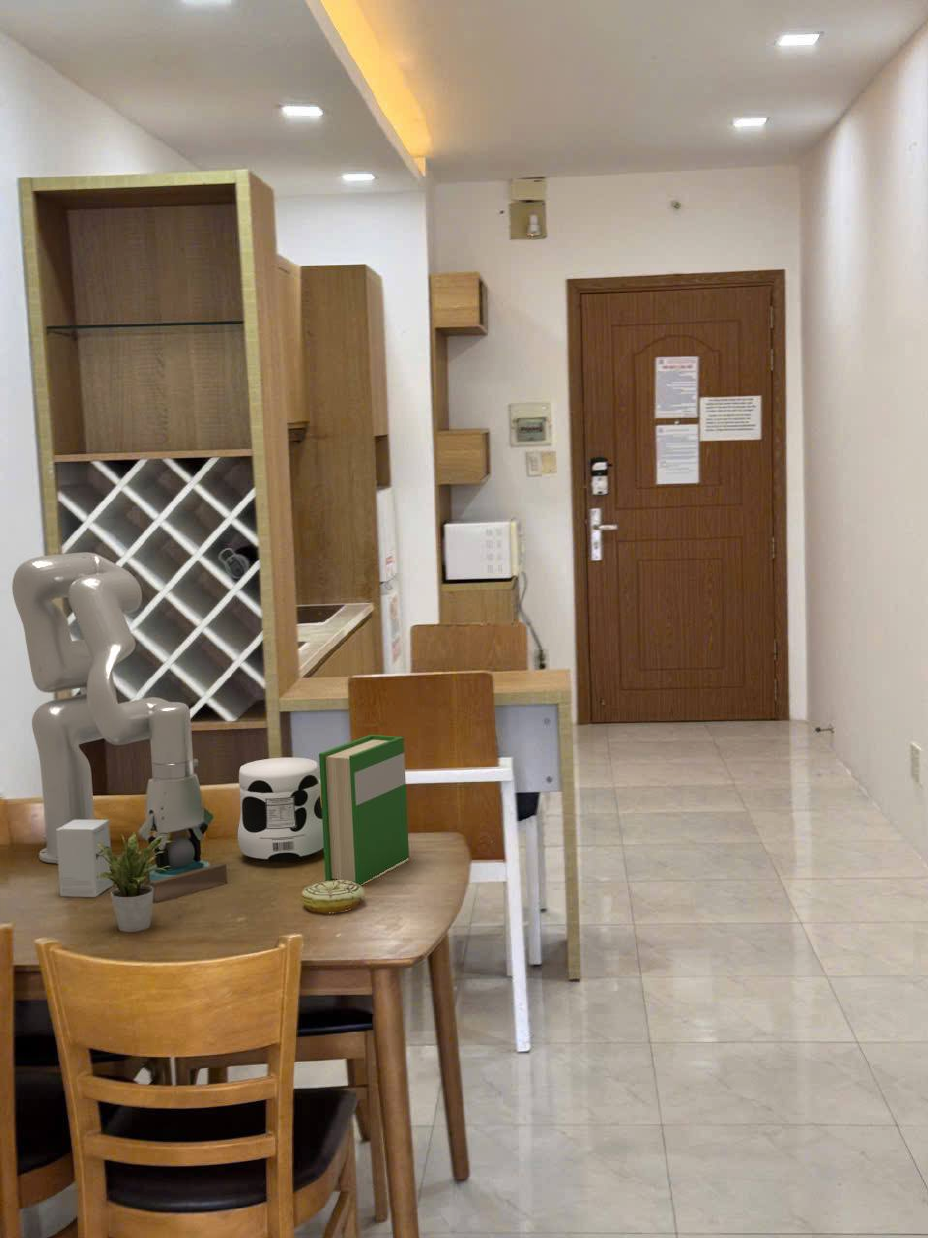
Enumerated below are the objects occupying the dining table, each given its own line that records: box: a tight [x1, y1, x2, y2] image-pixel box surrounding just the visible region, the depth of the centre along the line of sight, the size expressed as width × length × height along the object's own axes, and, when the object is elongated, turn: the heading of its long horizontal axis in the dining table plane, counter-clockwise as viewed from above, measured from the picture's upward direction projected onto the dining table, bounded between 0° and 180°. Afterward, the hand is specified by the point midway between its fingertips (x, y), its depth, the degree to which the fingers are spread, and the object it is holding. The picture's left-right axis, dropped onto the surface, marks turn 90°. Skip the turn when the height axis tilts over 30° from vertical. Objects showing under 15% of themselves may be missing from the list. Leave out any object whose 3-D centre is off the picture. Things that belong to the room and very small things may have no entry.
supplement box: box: [56, 819, 114, 898], centre depth 265 cm, size 7×7×13 cm
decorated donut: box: [301, 879, 366, 914], centre depth 251 cm, size 10×11×4 cm
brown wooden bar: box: [149, 862, 228, 904], centre depth 262 cm, size 2×15×4 cm, turn 133°
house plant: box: [93, 830, 172, 933], centre depth 242 cm, size 14×14×16 cm
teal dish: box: [148, 859, 210, 883], centre depth 270 cm, size 11×11×2 cm
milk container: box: [236, 757, 324, 864], centre depth 282 cm, size 17×17×18 cm
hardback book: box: [318, 734, 410, 885], centre depth 269 cm, size 18×7×24 cm, turn 152°
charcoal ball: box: [165, 835, 195, 869], centre depth 269 cm, size 6×6×6 cm
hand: (178, 863), depth 270 cm, fingers open, 6 cm apart
